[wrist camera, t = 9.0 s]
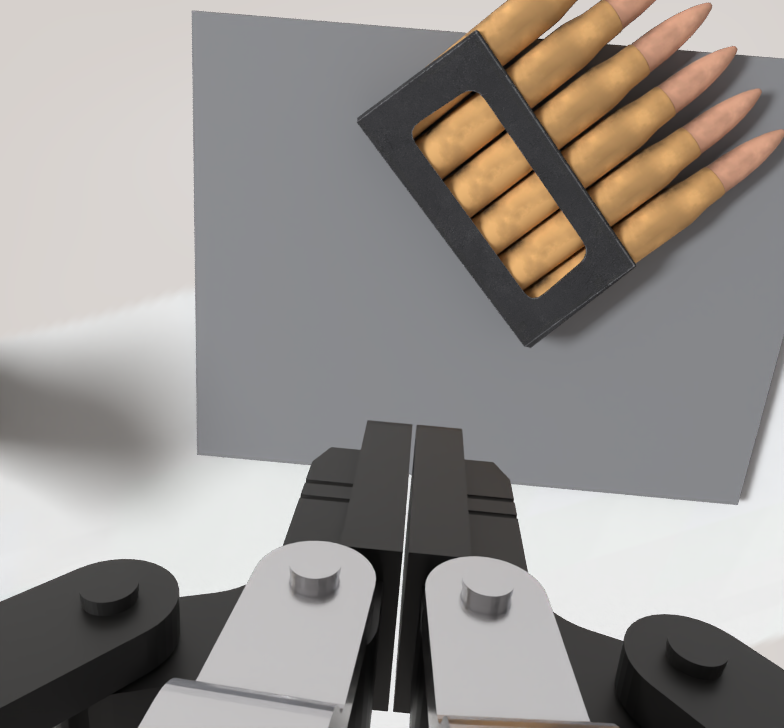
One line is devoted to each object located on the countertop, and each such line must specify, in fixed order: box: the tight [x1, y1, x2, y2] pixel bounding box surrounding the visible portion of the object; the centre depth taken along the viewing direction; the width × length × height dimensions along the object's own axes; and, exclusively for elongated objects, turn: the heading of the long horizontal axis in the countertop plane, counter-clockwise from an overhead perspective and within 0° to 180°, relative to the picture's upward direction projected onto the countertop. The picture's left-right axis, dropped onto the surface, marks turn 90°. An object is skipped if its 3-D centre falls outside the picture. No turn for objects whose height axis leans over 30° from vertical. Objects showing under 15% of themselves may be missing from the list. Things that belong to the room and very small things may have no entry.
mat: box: [192, 11, 784, 505], centre depth 30 cm, size 24×18×1 cm
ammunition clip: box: [357, 0, 784, 348], centre depth 27 cm, size 11×2×12 cm
